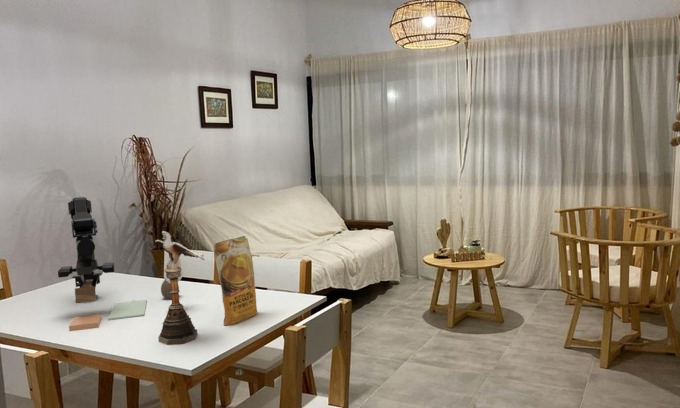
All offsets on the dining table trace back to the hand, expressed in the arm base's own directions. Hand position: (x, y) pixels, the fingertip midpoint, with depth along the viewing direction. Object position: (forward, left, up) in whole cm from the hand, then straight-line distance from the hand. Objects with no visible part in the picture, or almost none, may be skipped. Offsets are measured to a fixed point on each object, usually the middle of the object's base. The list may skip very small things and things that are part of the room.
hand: (89, 292), depth 204 cm
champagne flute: (+8, +30, -8) cm, 32 cm away
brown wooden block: (+3, 0, -1) cm, 3 cm away
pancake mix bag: (+28, +51, -8) cm, 59 cm away
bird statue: (+38, +32, -8) cm, 50 cm away
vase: (-10, +28, -8) cm, 31 cm away
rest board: (+1, +13, -8) cm, 15 cm away
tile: (+8, 0, -7) cm, 11 cm away
